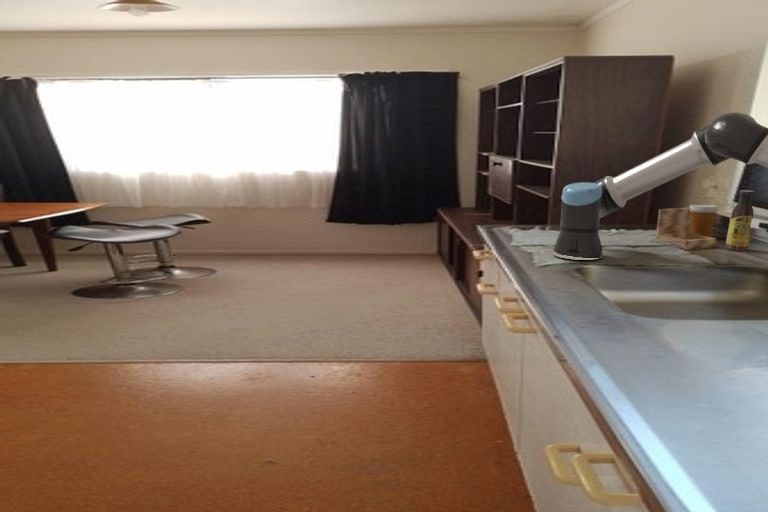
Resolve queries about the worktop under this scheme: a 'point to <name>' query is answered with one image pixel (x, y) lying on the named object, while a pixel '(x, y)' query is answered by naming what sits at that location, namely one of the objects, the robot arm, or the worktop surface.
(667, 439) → the worktop surface
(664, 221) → the open wooden box
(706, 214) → the glass of beer
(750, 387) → the worktop surface
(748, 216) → the sauce bottle
